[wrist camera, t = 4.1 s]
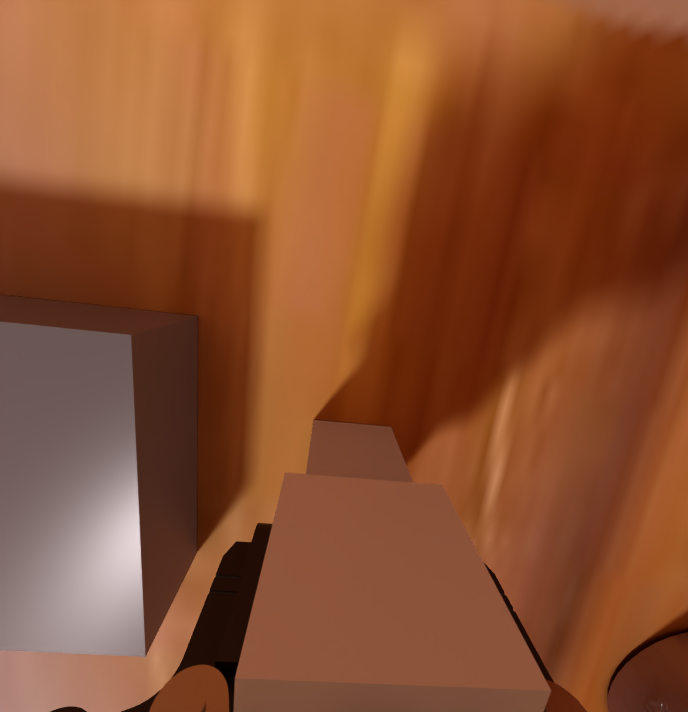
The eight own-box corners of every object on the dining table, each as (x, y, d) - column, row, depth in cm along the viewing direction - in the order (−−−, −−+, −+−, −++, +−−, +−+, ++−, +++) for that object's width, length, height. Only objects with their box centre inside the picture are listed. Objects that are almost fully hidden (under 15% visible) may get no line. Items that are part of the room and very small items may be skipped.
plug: (406, 416, 15) (593, 768, 4) (390, 505, 16) (506, 961, 5) (301, 406, 14) (214, 759, 4) (293, 498, 15) (209, 966, 5)
